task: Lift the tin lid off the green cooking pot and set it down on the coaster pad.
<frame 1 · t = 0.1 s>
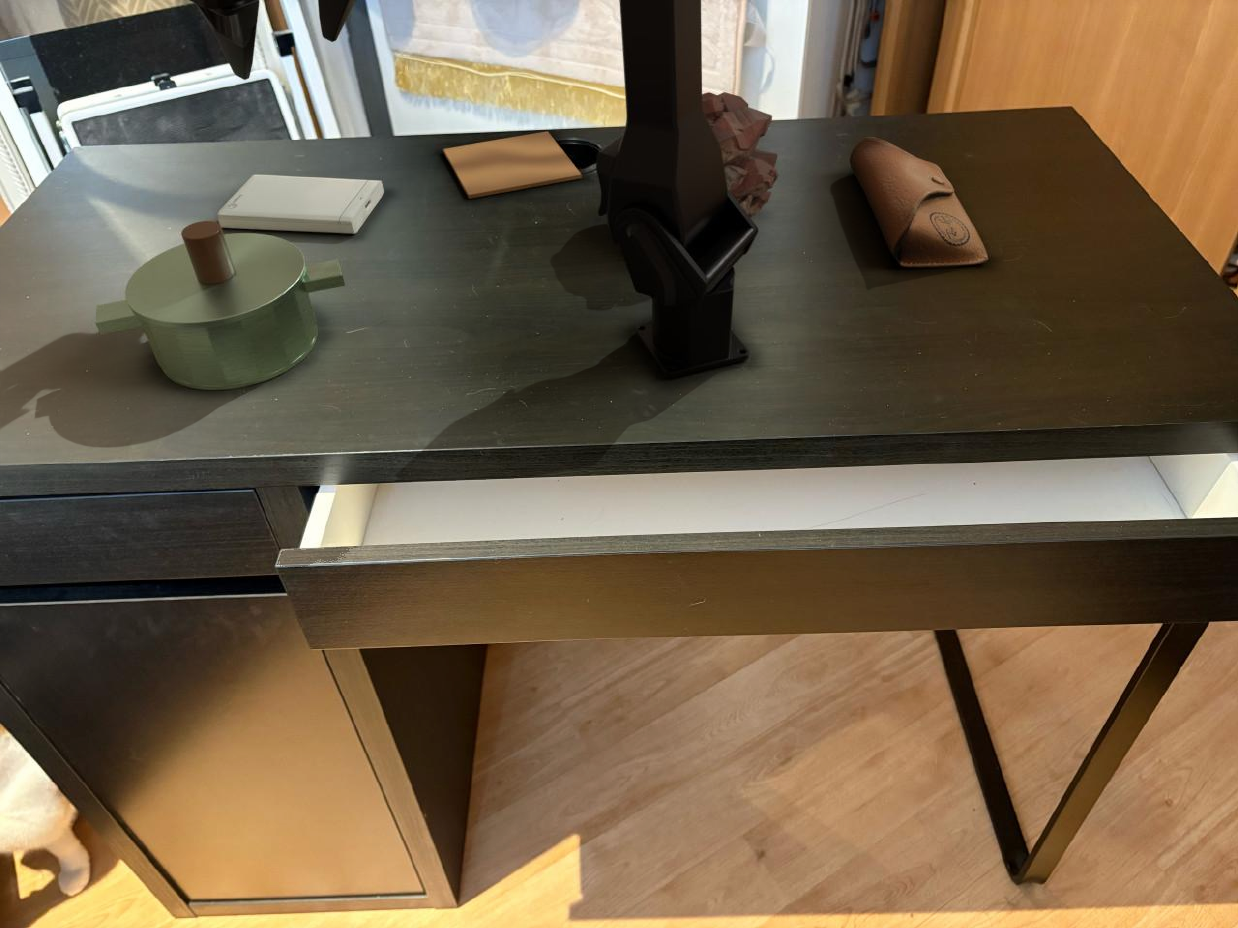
hand: (287, 57, 73), 15 cm above the table, tool pointing down, fingers open, 9 cm apart
tin lid: (218, 280, 68), point 5 cm above the table, touching green cooking pot
hard drive: (305, 213, 87), on the table
mineral specimen: (702, 230, 83), on the table
green cooking pot: (240, 344, 72), on the table
sunglasses case: (912, 217, 84), on the table
coaster pad: (510, 165, 94), on the table
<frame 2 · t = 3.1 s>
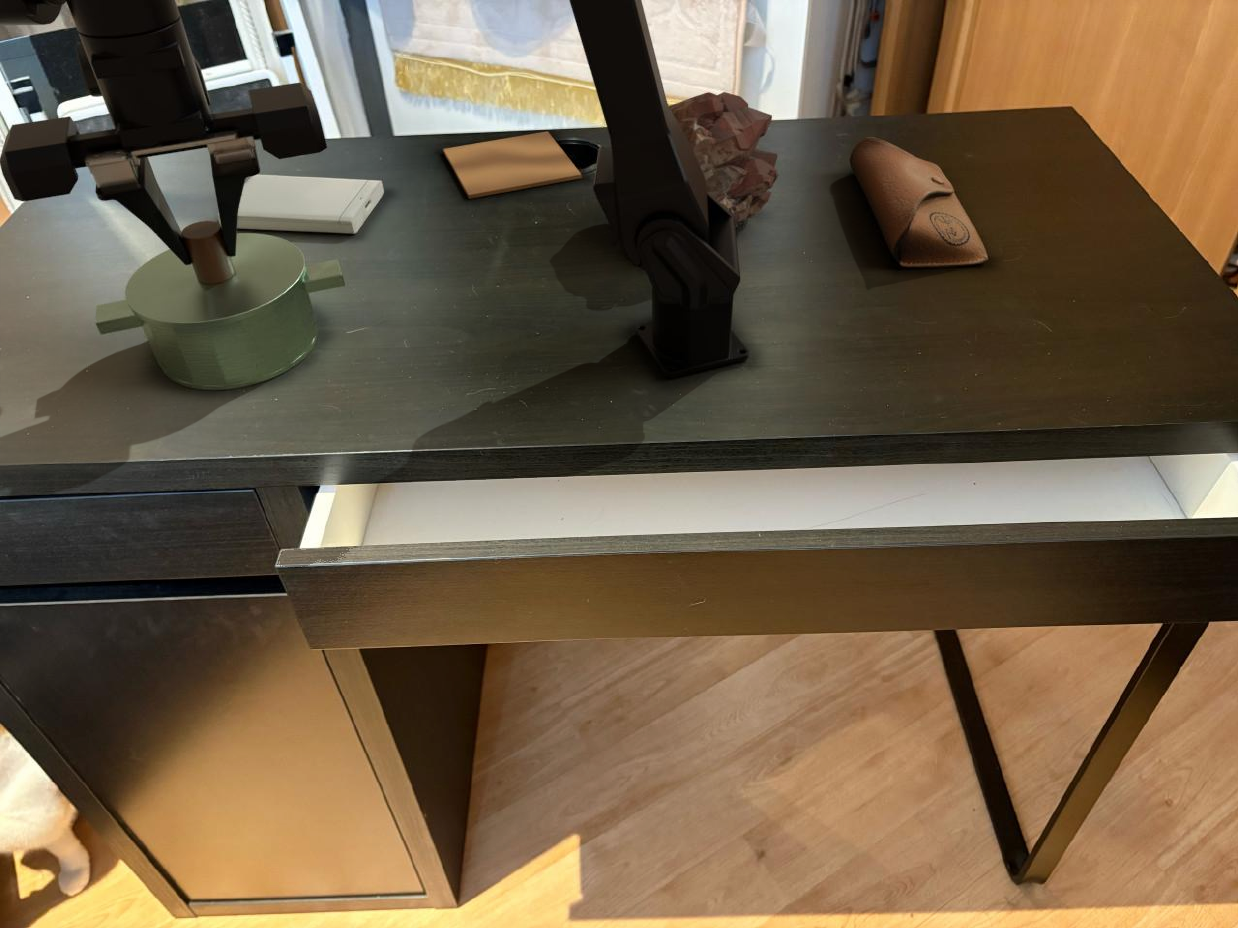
hand: (210, 258, 67), 7 cm above the table, tool pointing down, fingers closed on tin lid, 3 cm apart
tin lid: (218, 280, 68), point 5 cm above the table, touching green cooking pot, gripper
everything else where it was.
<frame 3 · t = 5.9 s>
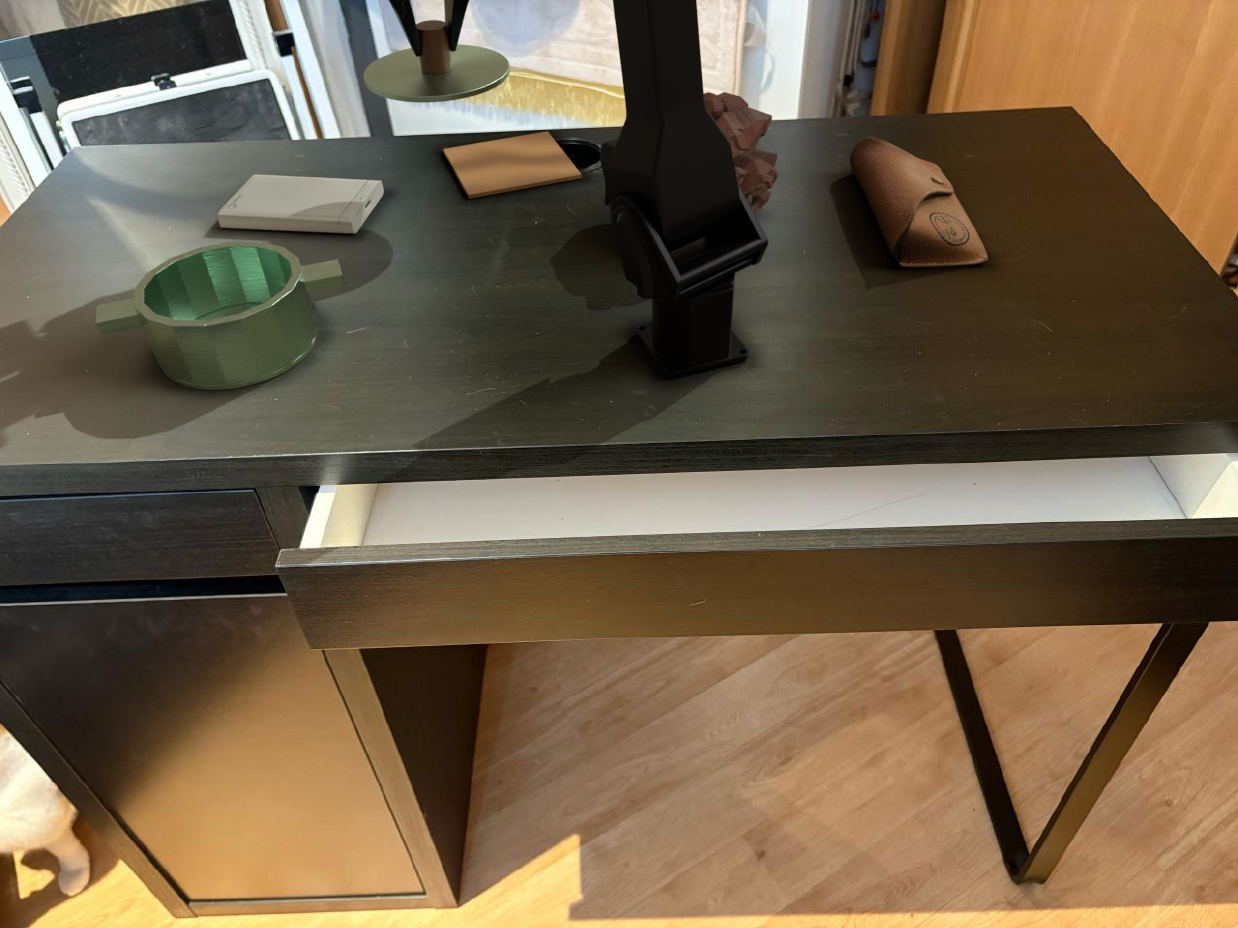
hand: (435, 52, 80), 13 cm above the table, tool pointing down, fingers closed on tin lid, 3 cm apart
tin lid: (437, 74, 81), point 11 cm above the table, touching gripper
everything else where it was.
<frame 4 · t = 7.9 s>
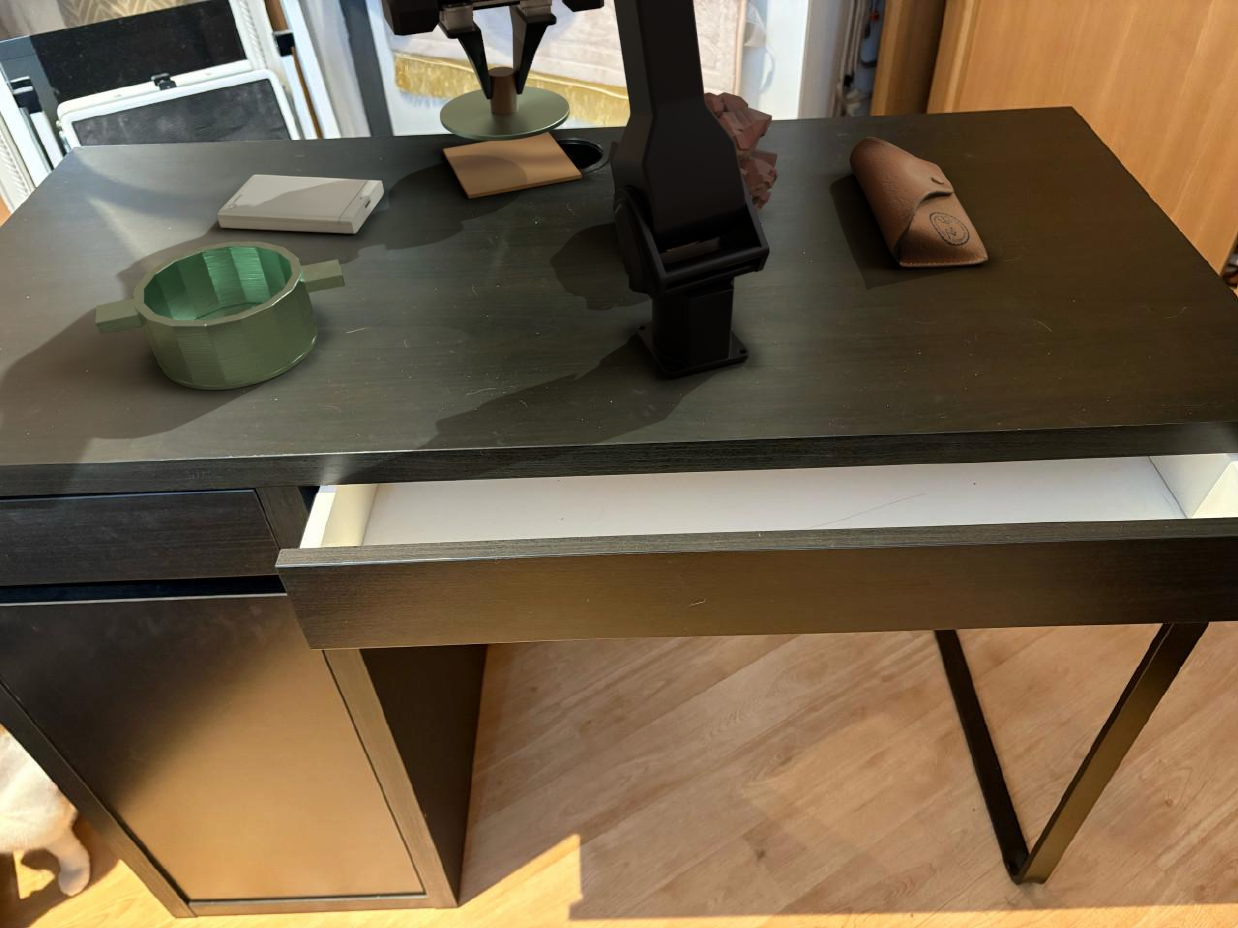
hand: (503, 95, 89), 7 cm above the table, tool pointing down, fingers closed on tin lid, 3 cm apart
tin lid: (505, 114, 90), point 5 cm above the table, touching gripper
everything else where it was.
when the fingers open (3 cm above the table, at t = 9.2 s): tin lid stays where it is, resting on coaster pad.
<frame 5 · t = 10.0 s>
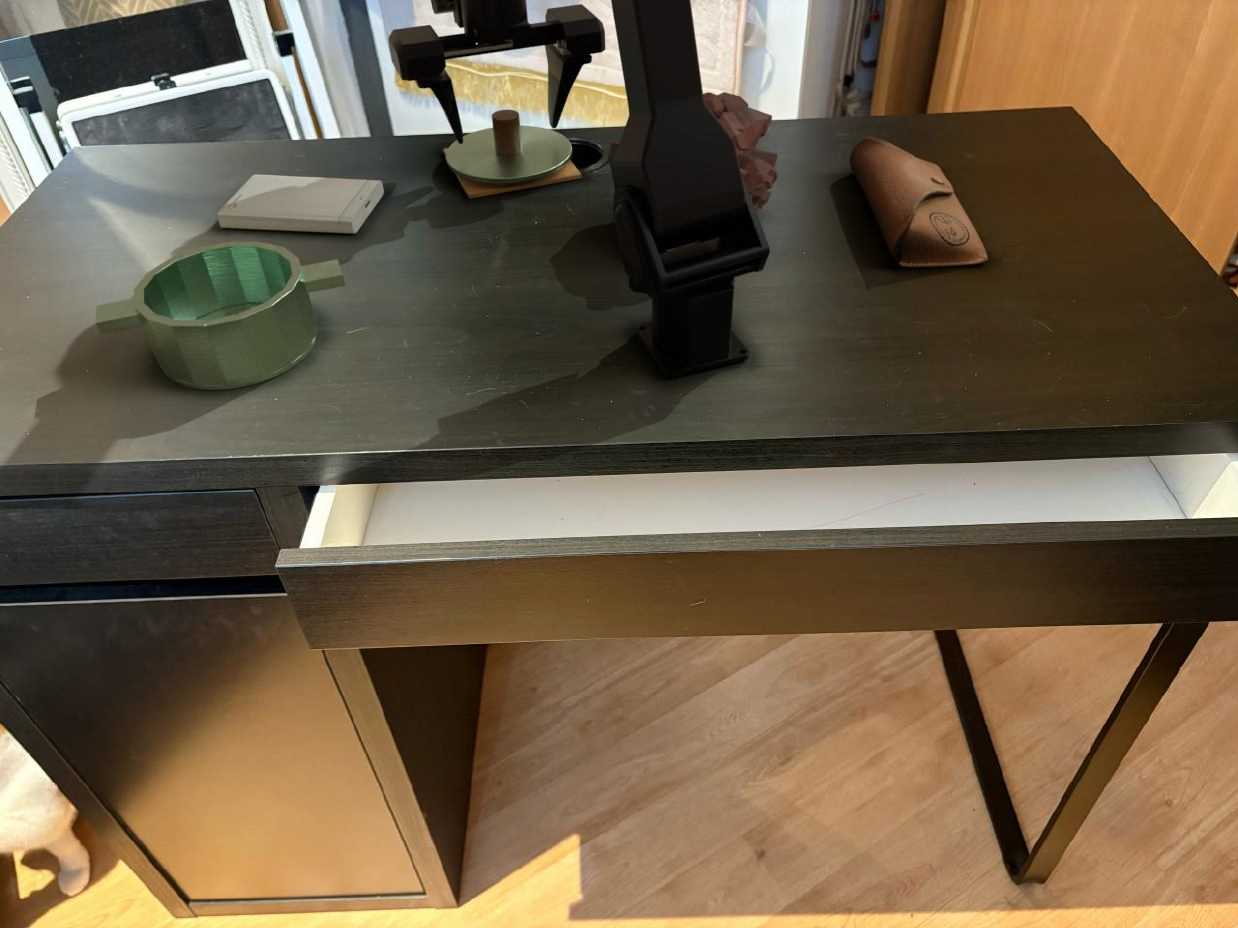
hand: (507, 134, 92), 3 cm above the table, tool pointing down, fingers open, 9 cm apart
tin lid: (509, 155, 93), point 1 cm above the table, touching coaster pad
everything else where it was.
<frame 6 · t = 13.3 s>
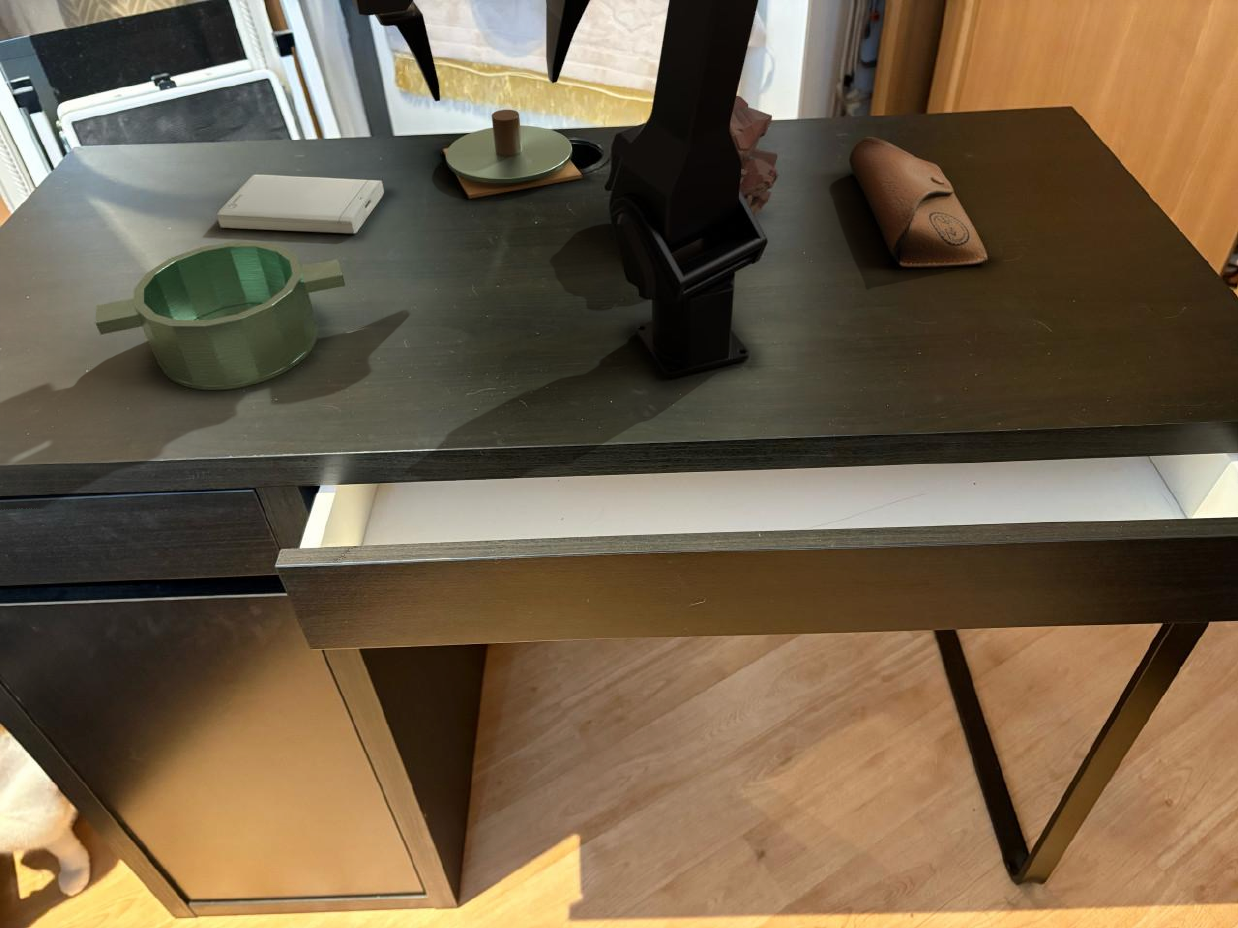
hand: (495, 90, 73), 13 cm above the table, tool pointing down, fingers open, 9 cm apart
nothing on the table moved.
at the end: tin lid inside the target area on the coaster pad (0.0 cm from its centre), point 1.0 cm above the coaster pad's base; tin lid point 1.0 cm above the table; tin lid tilted 0° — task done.
